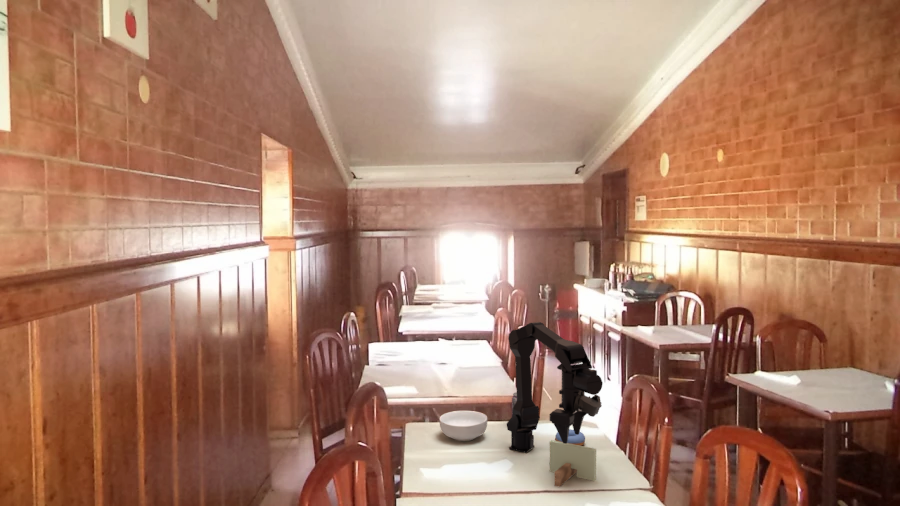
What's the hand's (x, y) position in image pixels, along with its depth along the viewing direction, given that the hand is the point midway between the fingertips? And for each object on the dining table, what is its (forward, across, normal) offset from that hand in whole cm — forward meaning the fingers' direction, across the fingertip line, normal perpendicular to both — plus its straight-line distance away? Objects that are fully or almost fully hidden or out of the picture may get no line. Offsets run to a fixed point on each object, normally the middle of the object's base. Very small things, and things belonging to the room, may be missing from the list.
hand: (571, 438), depth 194 cm
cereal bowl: (+11, +11, +44) cm, 47 cm away
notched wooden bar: (+11, 0, 0) cm, 11 cm away
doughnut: (+11, +25, +10) cm, 29 cm away
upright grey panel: (+11, 0, 0) cm, 11 cm away
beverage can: (+11, +32, +32) cm, 47 cm away
